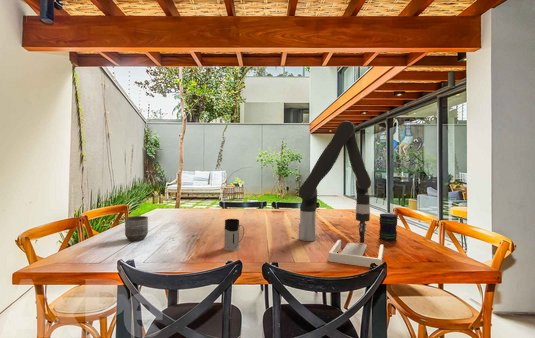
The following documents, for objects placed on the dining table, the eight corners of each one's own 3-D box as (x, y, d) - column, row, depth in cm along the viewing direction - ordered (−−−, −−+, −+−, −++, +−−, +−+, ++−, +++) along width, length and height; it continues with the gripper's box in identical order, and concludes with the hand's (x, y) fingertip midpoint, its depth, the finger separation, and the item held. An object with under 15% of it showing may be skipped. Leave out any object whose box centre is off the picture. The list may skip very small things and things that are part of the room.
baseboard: (333, 260, 141) (359, 264, 136) (333, 254, 141) (359, 258, 136) (345, 244, 169) (367, 247, 164) (345, 239, 169) (367, 241, 164)
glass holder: (233, 244, 163) (233, 217, 163) (250, 250, 153) (250, 221, 153) (220, 248, 157) (220, 220, 156) (236, 254, 147) (237, 224, 146)
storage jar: (393, 237, 183) (394, 213, 182) (399, 242, 173) (399, 216, 172) (377, 237, 184) (377, 213, 183) (381, 241, 174) (382, 216, 173)
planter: (120, 241, 168) (120, 218, 168) (136, 236, 180) (136, 215, 179) (136, 243, 164) (136, 220, 164) (152, 238, 175) (152, 216, 175)
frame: (328, 261, 138) (328, 252, 138) (338, 247, 161) (338, 239, 161) (381, 268, 129) (381, 259, 129) (383, 252, 152) (383, 244, 152)
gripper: (357, 209, 174) (356, 239, 174) (354, 213, 161) (353, 244, 162) (370, 210, 171) (370, 240, 171) (368, 214, 158) (368, 246, 159)
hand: (362, 242), depth 166 cm, fingers closed
